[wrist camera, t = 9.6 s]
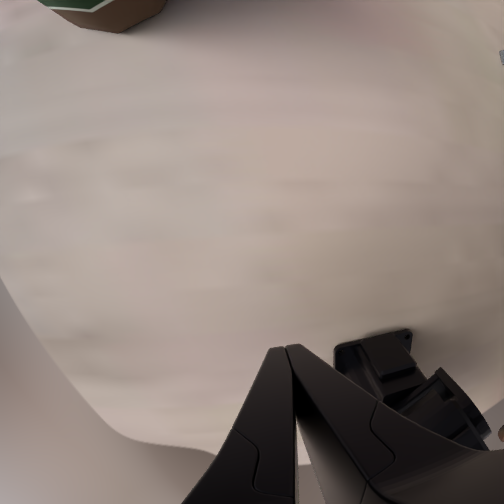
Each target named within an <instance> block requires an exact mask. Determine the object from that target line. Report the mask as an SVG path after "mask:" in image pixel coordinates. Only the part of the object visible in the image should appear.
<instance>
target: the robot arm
mask: <svg viewBox="0 0 504 504" xmlns="http://www.w3.org/2000/svg"><path fill="white" fill-rule="evenodd" d="M406 335H407V336H406ZM405 336H406V337H405ZM412 336H413V334H412V332H411V331H410V330H409V329H404V330H400V331H396V332H392V333H388V334H383V335H379V336H375V337H371V338H366V339H363V340H358V341H354V342H349V343H345V344H340V345H337V346H336V347H335V348H334V361H333V367H331V366H330V365H329V364H327V363H326V362H324V361H323V360H322V359H320V358H319V357H318V356H316V355H315V354H313V353H312V352H311V351H309V350H308V349H307V348H305V347H304V346H303V345H301V344H293V345H287V346H286V347H285V348H284V347H283V346H280V347H274V348H270V349H269V350H268V352H267V354H266V356H265V359H264V361H263V363H262V365H261V367H260V370H259V372H258V374H257V376H256V378H255V380H254V382H253V385H252V387H251V389H250V391H249V393H248V395H247V397H246V399H245V402H244V404H243V406H242V408H241V410H240V412H239V414H238V416H237V418H236V420H235V422H234V424H233V426H232V429H231V430H230V432H229V434H228V436H227V438H226V440H225V442H224V444H223V445H222V447H221V449H220V451H219V453H218V454H217V456H216V457H215V459H214V460H213V462H212V463H211V465H210V466H209V468H208V469H207V471H206V472H205V473H204V475H203V476H202V477H201V479H200V480H199V481H198V482H197V484H196V485H195V486H194V488H193V489H192V490H191V492H190V493H189V494H188V495H187V497H186V498H185V499H184V501H183V502H182V503H181V504H299V489H298V487H299V486H298V453H297V428H296V420H297V424H298V427H299V430H300V433H301V435H302V438H303V441H304V444H305V447H306V450H307V452H308V455H309V458H310V461H311V464H312V466H313V469H314V472H315V475H316V477H317V480H318V483H319V486H320V489H321V492H322V494H323V497H324V500H325V503H326V504H504V449H501V450H494V451H493V450H492V451H490V450H489V449H488V447H487V446H486V444H485V443H484V441H483V440H484V439H485V438H487V437H488V436H489V435H490V434H491V430H490V427H489V426H488V424H487V422H486V421H485V419H484V417H483V416H482V414H481V413H480V411H479V410H478V408H477V407H476V406H475V404H474V403H473V402H472V400H471V399H470V398H469V397H468V395H467V394H466V393H465V392H464V391H463V390H462V389H461V388H460V387H459V386H458V385H457V384H456V382H455V381H454V380H453V379H452V378H451V377H450V376H449V375H448V374H447V373H446V372H445V371H444V370H443V369H442V368H441V367H440V368H439V369H438V370H436V371H435V374H434V375H432V376H431V377H430V378H429V379H428V380H427V378H426V377H425V376H424V374H423V373H422V372H421V370H420V369H419V368H418V366H417V363H416V361H415V360H414V359H413V357H412V356H411V355H410V350H411V343H412ZM341 350H343V351H342V352H340V353H338V352H339V351H341Z"/></svg>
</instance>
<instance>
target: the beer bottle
mask: <svg viewBox="0 0 504 504" xmlns="http://www.w3.org/2000/svg"><path fill="white" fill-rule="evenodd" d="M38 1H39V2H41V3H42V4H44V5H45V6H47V7H48V8H50V9H51V10H53V11H54V12H56V13H57V14H59V15H60V16H62V17H63V18H64V19H66V20H67V21H69V22H71V23H73V24H75V25H76V26H78V27H80V28H86V29H93V30H100V31H106V32H112V33H117V34H118V33H120V32H122V31H124V30H126V29H128V28H129V27H131V26H133V25H135V24H137V23H139V22H141V21H143V20H145V19H147V18H149V17H151V16H153V15H155V14H157V13H160V12H161V10H162V8H163V6H164V4H165V2H166V1H167V0H38Z"/></svg>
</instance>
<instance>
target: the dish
mask: <svg viewBox="0 0 504 504" xmlns="http://www.w3.org/2000/svg"><path fill="white" fill-rule="evenodd" d="M498 436H499V438H500V440H501V441H502V442H504V425H503V426H502V427H501V428H500V430H499V432H498Z"/></svg>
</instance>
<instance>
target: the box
mask: <svg viewBox="0 0 504 504" xmlns="http://www.w3.org/2000/svg"><path fill="white" fill-rule="evenodd" d="M500 56H501V61H502V64H503V65H504V50H502V51H500Z"/></svg>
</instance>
